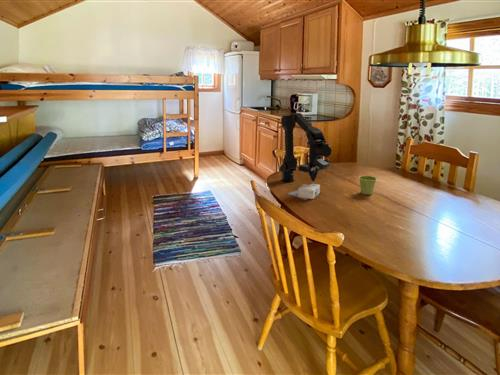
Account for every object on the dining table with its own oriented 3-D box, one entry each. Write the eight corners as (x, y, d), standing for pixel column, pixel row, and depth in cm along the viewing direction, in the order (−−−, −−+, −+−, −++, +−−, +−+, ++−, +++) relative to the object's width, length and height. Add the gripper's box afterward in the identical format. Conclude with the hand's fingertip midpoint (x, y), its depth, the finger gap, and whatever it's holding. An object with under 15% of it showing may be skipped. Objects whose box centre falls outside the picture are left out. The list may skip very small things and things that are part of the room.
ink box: (305, 190, 204) (297, 197, 194) (305, 182, 203) (297, 188, 193) (320, 193, 200) (312, 199, 190) (320, 184, 199) (313, 190, 189)
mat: (287, 193, 200) (287, 193, 200) (301, 189, 207) (301, 189, 207) (304, 199, 191) (304, 199, 191) (318, 195, 197) (318, 195, 197)
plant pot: (353, 192, 201) (355, 177, 198) (364, 189, 206) (365, 174, 204) (368, 197, 194) (369, 181, 191) (379, 193, 199) (380, 178, 196)
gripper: (314, 158, 185) (312, 188, 190) (337, 153, 197) (335, 181, 201) (298, 155, 194) (297, 183, 199) (321, 150, 205) (320, 176, 210)
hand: (313, 181), depth 202 cm, fingers closed
